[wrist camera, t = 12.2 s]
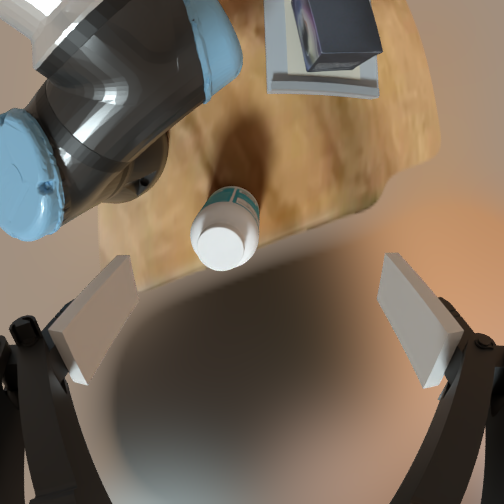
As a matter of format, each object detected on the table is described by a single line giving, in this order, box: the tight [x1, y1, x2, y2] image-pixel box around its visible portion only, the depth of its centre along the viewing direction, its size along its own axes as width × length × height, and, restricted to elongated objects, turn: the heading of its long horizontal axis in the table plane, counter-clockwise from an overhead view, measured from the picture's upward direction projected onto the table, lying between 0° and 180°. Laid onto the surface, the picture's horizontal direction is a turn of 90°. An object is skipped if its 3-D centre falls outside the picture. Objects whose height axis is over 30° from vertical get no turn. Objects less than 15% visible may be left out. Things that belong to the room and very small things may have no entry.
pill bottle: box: [190, 186, 259, 271], centre depth 35 cm, size 8×7×14 cm
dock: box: [264, 0, 379, 99], centre depth 29 cm, size 14×16×4 cm
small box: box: [291, 0, 383, 72], centre depth 23 cm, size 11×6×10 cm, turn 10°
